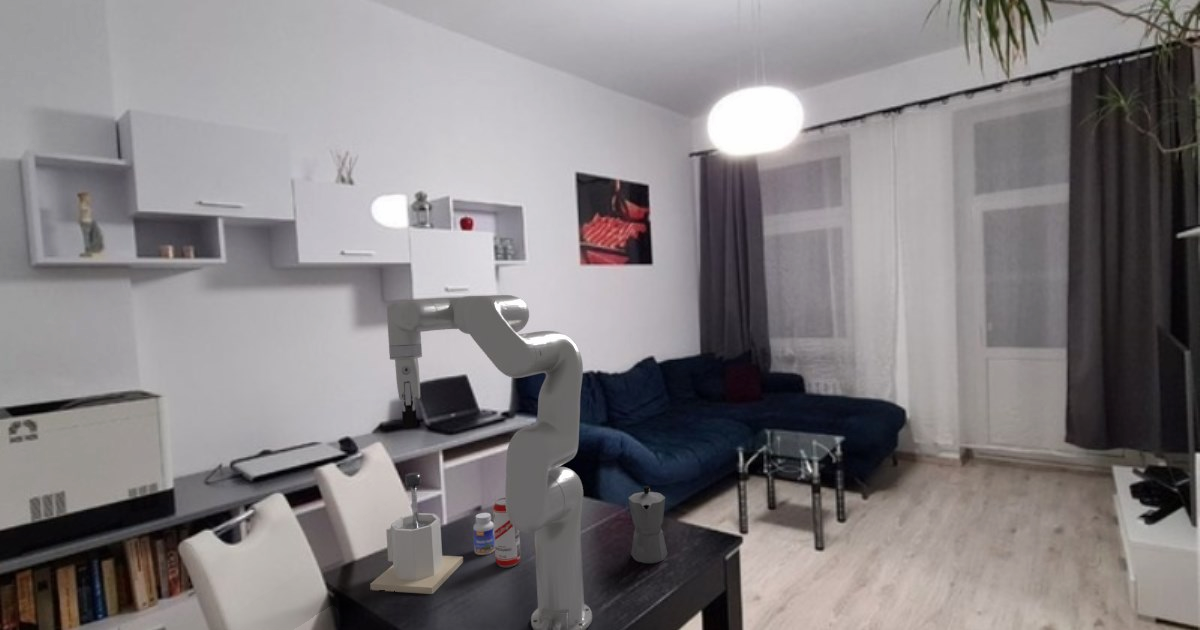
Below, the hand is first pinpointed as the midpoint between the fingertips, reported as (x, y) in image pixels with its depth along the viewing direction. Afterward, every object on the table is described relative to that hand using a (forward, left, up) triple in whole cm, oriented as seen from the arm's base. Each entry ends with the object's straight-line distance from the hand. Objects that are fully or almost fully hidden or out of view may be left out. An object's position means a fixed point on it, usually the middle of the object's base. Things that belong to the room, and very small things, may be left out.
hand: (410, 426), depth 142 cm
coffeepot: (+18, -55, -37) cm, 69 cm away
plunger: (0, 0, -26) cm, 26 cm away
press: (0, 0, -37) cm, 37 cm away
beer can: (+9, -20, -37) cm, 43 cm away
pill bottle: (+15, -11, -37) cm, 42 cm away
